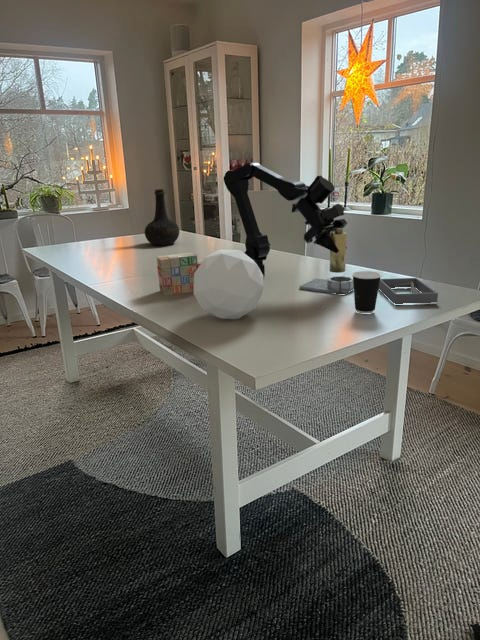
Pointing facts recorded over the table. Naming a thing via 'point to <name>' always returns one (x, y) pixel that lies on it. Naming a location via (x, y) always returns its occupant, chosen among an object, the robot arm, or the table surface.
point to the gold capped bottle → (339, 258)
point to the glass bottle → (161, 224)
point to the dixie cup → (365, 290)
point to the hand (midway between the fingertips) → (341, 250)
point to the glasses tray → (424, 297)
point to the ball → (228, 284)
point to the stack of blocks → (177, 272)
